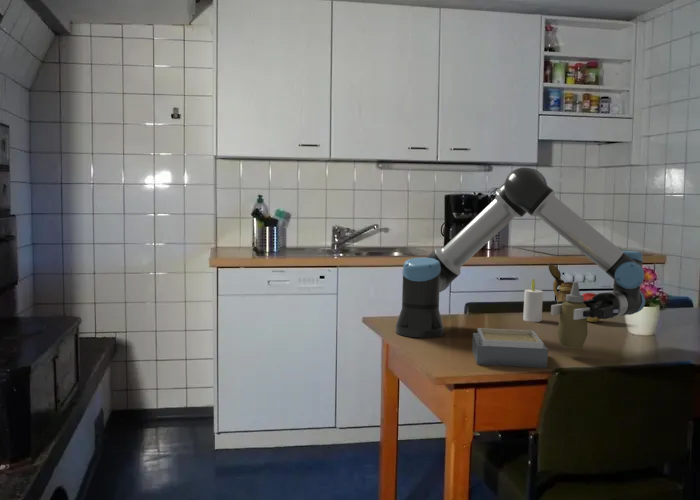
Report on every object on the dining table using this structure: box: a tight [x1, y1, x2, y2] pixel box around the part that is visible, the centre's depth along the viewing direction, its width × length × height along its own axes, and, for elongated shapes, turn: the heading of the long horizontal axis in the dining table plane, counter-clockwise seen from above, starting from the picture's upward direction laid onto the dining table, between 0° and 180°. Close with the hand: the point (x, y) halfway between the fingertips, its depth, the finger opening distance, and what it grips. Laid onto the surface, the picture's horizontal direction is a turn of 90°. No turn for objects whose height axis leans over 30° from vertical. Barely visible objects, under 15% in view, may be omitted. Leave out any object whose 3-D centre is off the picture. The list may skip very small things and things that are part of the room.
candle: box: [522, 278, 544, 323], centre depth 241 cm, size 6×6×15 cm
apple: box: [582, 292, 601, 323], centre depth 241 cm, size 10×10×10 cm
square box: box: [471, 327, 549, 369], centre depth 186 cm, size 18×16×6 cm
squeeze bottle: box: [556, 281, 589, 349], centre depth 189 cm, size 8×8×18 cm
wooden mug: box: [548, 262, 575, 304], centre depth 261 cm, size 9×14×18 cm, turn 42°
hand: (563, 312), depth 186 cm, fingers closed on squeeze bottle, 6 cm apart
